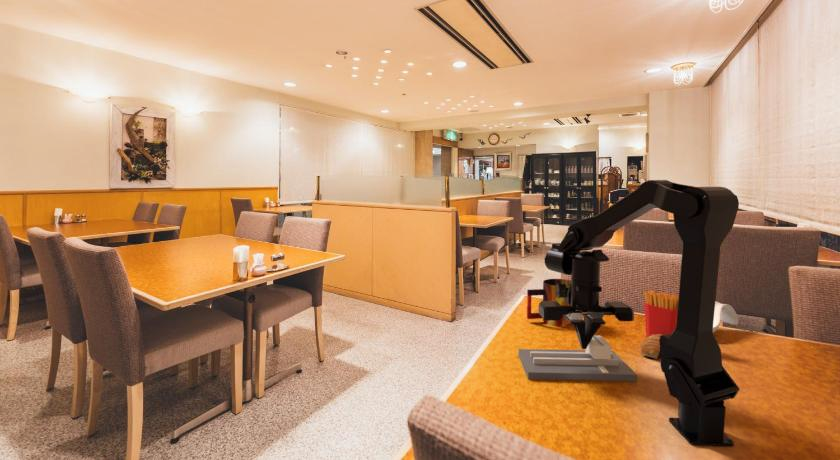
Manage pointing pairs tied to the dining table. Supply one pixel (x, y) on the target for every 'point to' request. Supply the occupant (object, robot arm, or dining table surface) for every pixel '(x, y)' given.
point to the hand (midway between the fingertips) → (583, 348)
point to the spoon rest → (724, 315)
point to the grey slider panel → (573, 366)
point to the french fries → (660, 313)
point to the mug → (549, 295)
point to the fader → (599, 348)
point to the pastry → (651, 346)
